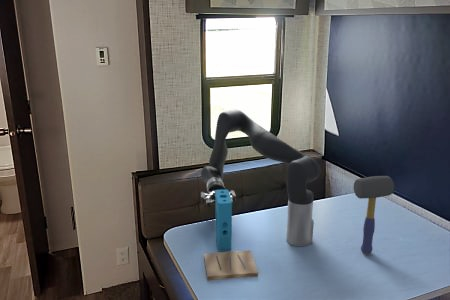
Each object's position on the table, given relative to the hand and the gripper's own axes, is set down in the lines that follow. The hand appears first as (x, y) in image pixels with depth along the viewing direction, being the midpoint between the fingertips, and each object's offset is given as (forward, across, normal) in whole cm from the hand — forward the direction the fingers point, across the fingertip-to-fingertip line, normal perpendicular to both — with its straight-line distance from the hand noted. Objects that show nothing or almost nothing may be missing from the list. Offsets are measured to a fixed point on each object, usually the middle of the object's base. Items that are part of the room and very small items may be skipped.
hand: (219, 204), depth 174 cm
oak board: (+27, 0, +11) cm, 29 cm away
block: (+12, 0, +11) cm, 16 cm away
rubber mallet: (+25, +51, +11) cm, 58 cm away
